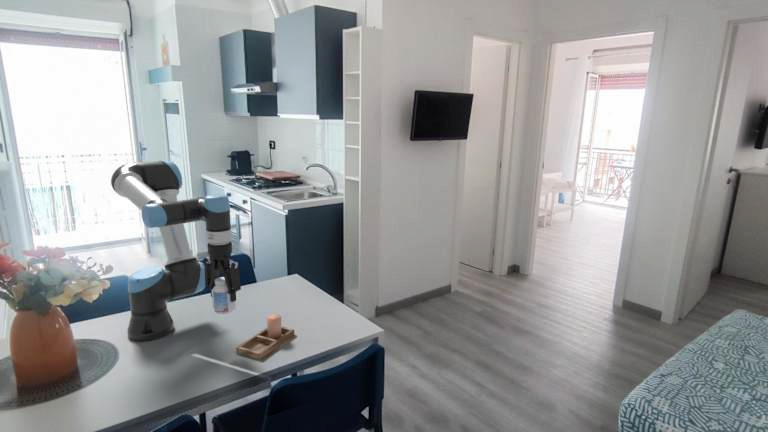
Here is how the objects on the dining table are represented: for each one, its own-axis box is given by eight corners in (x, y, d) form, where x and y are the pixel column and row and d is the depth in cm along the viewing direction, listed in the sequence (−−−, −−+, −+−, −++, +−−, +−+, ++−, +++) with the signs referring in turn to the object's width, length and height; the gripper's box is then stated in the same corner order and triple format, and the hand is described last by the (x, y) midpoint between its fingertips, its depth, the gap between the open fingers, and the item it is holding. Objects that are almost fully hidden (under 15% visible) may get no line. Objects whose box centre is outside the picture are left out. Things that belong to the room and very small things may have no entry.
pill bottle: (227, 315, 143) (225, 283, 141) (210, 313, 144) (208, 281, 142) (237, 308, 149) (235, 277, 146) (221, 306, 150) (219, 275, 148)
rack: (234, 354, 146) (233, 346, 145) (270, 330, 163) (269, 323, 162) (262, 363, 141) (262, 355, 141) (296, 337, 158) (296, 330, 158)
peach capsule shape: (264, 339, 155) (263, 318, 153) (273, 333, 159) (272, 313, 158) (276, 342, 153) (275, 321, 151) (284, 336, 157) (284, 315, 156)
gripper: (189, 241, 142) (194, 307, 147) (233, 248, 134) (238, 317, 139) (206, 236, 149) (211, 299, 153) (250, 242, 141) (254, 309, 146)
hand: (224, 308), depth 146 cm, fingers closed on pill bottle, 6 cm apart
